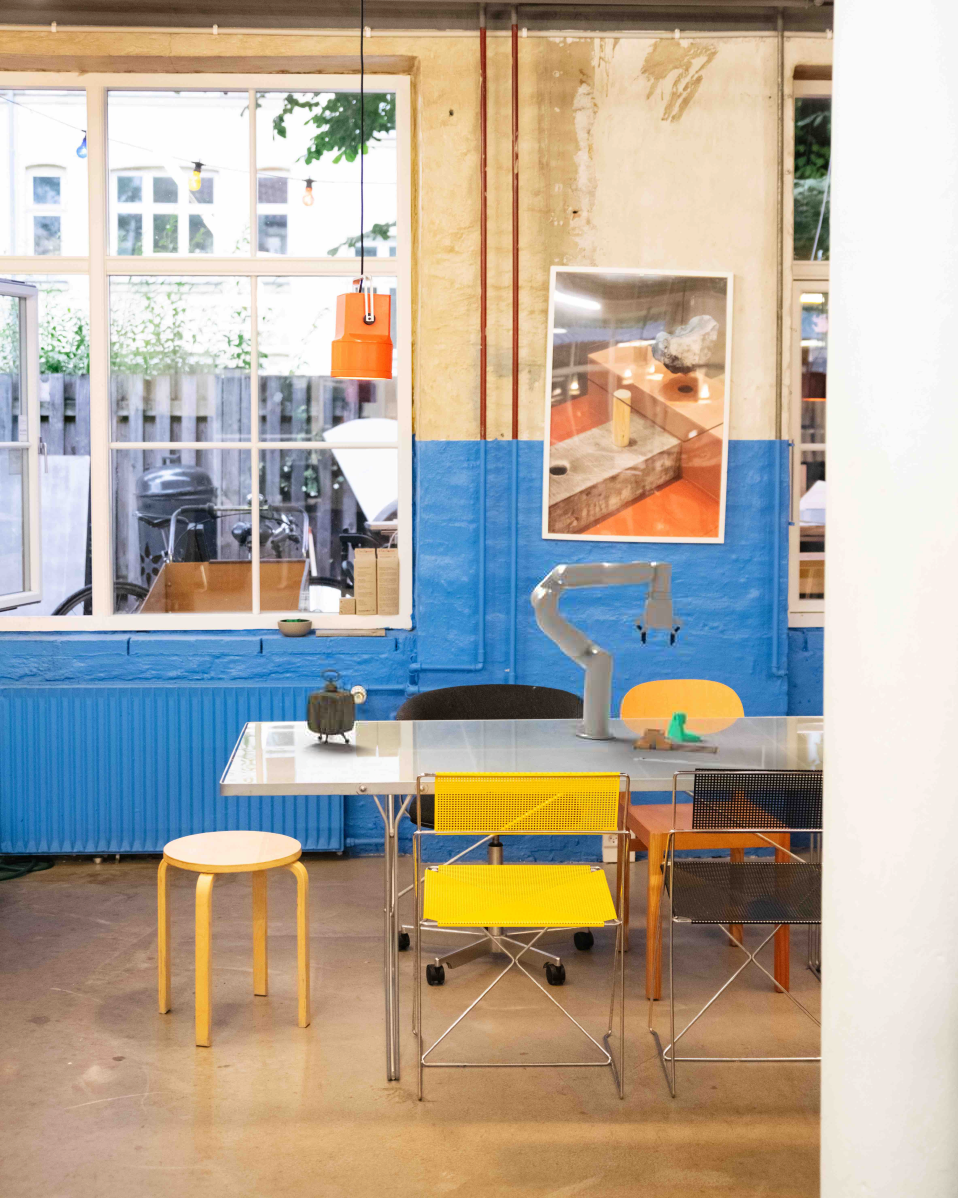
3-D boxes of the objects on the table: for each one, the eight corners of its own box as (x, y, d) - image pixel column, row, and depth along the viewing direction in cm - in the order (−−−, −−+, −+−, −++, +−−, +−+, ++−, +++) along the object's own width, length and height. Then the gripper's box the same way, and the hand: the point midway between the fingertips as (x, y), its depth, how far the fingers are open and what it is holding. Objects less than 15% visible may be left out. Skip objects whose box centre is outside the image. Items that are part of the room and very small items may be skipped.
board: (634, 750, 385) (634, 739, 384) (638, 744, 396) (638, 732, 396) (716, 756, 378) (716, 744, 378) (717, 750, 390) (718, 738, 390)
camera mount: (701, 744, 400) (702, 715, 400) (681, 744, 399) (682, 715, 398) (687, 737, 412) (688, 709, 411) (667, 738, 410) (668, 709, 410)
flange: (671, 744, 393) (671, 729, 393) (668, 750, 382) (669, 734, 382) (639, 741, 396) (639, 726, 395) (635, 747, 385) (636, 732, 385)
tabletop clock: (354, 743, 384) (356, 669, 383) (340, 748, 376) (341, 672, 375) (318, 739, 391) (319, 666, 389) (303, 743, 382) (304, 669, 381)
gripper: (634, 596, 407) (632, 644, 408) (683, 598, 403) (681, 646, 404) (636, 595, 414) (634, 642, 415) (684, 596, 410) (683, 644, 411)
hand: (657, 644), depth 410 cm, fingers open, 9 cm apart
